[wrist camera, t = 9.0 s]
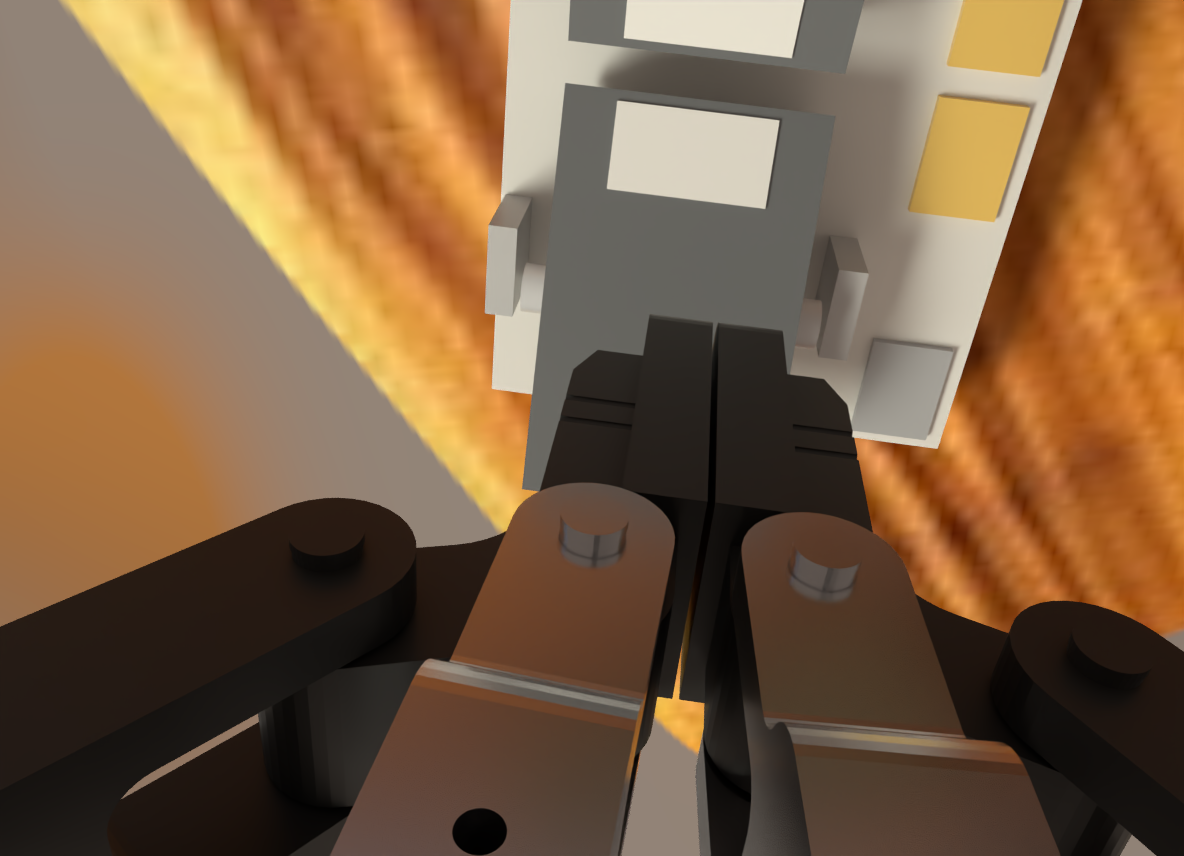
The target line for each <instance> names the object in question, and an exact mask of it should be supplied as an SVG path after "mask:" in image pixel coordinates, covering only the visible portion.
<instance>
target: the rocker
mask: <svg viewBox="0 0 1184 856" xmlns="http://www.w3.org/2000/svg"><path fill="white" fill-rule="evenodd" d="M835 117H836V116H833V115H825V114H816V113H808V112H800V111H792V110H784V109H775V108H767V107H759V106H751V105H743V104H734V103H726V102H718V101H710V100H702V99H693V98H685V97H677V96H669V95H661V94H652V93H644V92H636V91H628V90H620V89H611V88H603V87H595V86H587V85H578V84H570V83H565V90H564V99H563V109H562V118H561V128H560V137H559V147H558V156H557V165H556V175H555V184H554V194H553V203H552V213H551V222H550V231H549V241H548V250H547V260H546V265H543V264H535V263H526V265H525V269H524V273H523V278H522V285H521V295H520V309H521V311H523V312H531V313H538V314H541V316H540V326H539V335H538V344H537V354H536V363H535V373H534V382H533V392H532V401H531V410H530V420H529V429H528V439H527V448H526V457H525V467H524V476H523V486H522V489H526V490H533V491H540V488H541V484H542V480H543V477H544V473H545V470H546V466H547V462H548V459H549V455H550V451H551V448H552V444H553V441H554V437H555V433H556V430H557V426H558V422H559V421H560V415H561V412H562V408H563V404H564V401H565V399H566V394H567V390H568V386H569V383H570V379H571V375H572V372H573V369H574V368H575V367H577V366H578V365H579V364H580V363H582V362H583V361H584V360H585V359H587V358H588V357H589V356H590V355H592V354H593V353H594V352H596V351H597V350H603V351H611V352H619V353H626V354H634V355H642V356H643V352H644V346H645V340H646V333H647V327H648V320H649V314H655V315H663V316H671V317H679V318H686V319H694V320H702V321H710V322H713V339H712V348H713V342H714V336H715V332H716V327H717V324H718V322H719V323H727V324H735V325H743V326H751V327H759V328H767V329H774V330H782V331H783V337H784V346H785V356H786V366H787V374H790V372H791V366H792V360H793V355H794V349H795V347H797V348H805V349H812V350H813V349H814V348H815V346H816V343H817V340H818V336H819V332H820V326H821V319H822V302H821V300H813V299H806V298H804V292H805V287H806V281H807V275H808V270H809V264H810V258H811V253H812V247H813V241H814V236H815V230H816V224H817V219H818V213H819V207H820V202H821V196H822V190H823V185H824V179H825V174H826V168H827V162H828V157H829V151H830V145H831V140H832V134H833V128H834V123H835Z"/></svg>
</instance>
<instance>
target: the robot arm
mask: <svg viewBox="0 0 1184 856" xmlns="http://www.w3.org/2000/svg"><path fill="white" fill-rule="evenodd" d="M712 339H713V322H710V321H702V320H694V319H686V318H679V317H671V316H663V315H655V314H649V320H648V327H647V333H646V340H645V346H644V352H643V356H642V355H634V354H626V353H619V352H611V351H603V350H597V351H596V352H594V353H593V354H592V355H590V356H589V357H588V358H587V359H585V360H584V361H583V362H582V363H580V364H579V365H578V366H577V367H575V368H574V369H573V372H572V375H571V379H570V383H569V386H568V390H567V394H566V399H565V401H564V404H563V408H562V412H561V415H560V421H559V422H558V426H557V430H556V433H555V437H554V441H553V444H552V448H551V451H550V455H549V459H548V462H547V466H546V470H545V473H544V477H543V480H542V484H541V488H540V491H539V492H538V493H536V494H533V495H532V496H531V497H529V498H528V499H526V500H525V501H524V502H523V503H522V504H521V505H520V506H519V507H518V509H517V510H516V512H515V514H514V515H513V517H512V520H511V522H510V524H509V527H508V529H507V531H506V532H504V533H501V534H499V535H497V536H494V537H491V538H488V539H485V540H482V541H477V542H473V543H467V544H459V545H448V546H435V547H423V548H416V540H415V537H414V534H413V532H412V530H411V529H410V527H409V526H408V524H407V523H406V522H405V521H404V520H403V519H402V518H401V517H400V516H398V515H397V514H395V513H394V512H392V511H391V510H389V509H386V508H384V507H382V506H380V505H377V504H373V503H370V502H367V501H361V500H356V499H346V498H323V499H316V500H308V501H304V502H300V503H296V504H293V505H290V506H287V507H284V508H282V509H279V510H277V511H274V512H272V513H270V514H267V515H265V516H262V517H260V518H258V519H255V520H253V521H250V522H248V523H246V524H243V525H241V526H239V527H236V528H234V529H231V530H229V531H227V532H224V533H222V534H220V535H217V536H215V537H212V538H210V539H208V540H205V541H203V542H201V543H198V544H196V545H193V546H191V547H189V548H186V549H184V550H181V551H179V552H177V553H175V554H172V555H170V556H167V557H165V558H163V559H160V560H158V561H155V562H153V563H151V564H148V565H146V566H143V567H141V568H139V569H136V570H134V571H132V572H129V573H127V574H124V575H122V576H120V577H117V578H115V579H113V580H110V581H108V582H105V583H103V584H101V585H98V586H96V587H94V588H91V589H89V590H86V591H84V592H82V593H79V594H77V595H75V596H72V597H70V598H67V599H65V600H63V601H60V602H58V603H56V604H53V605H51V606H49V607H46V608H44V609H41V610H39V611H36V612H34V613H32V614H29V615H27V616H25V617H22V618H20V619H17V620H15V621H13V622H10V623H8V624H6V625H3V626H1V627H0V856H622V850H623V845H624V839H625V835H626V829H627V824H628V818H629V814H630V808H631V803H632V798H633V793H634V787H635V782H636V776H637V772H638V766H639V760H640V754H641V750H642V748H643V747H644V746H645V744H646V743H647V741H648V739H649V737H650V734H651V729H652V725H653V719H654V713H655V707H656V701H657V697H664V698H671V699H672V697H673V691H674V686H675V680H676V675H677V669H678V663H679V658H680V652H681V647H682V658H681V676H680V694H679V699H680V700H687V701H694V702H701V703H705V705H704V730H703V735H702V739H701V744H700V749H699V754H698V759H697V764H696V775H695V778H696V795H697V813H698V829H699V847H700V856H1120V854H1121V853H1122V851H1123V849H1124V847H1125V846H1126V844H1127V842H1128V840H1129V839H1130V837H1131V835H1133V836H1134V837H1135V838H1137V839H1138V840H1139V841H1140V842H1141V843H1142V844H1144V845H1145V846H1146V847H1147V848H1148V849H1149V850H1151V851H1152V852H1153V853H1154V854H1155V855H1156V856H1184V652H1183V651H1182V650H1180V649H1179V648H1178V647H1176V646H1175V645H1173V644H1172V643H1170V642H1169V641H1167V640H1166V639H1165V638H1163V637H1162V636H1160V635H1159V634H1157V633H1156V632H1154V631H1153V630H1151V629H1149V628H1148V627H1146V626H1145V625H1143V624H1141V623H1139V622H1137V621H1135V620H1133V619H1131V618H1129V617H1127V616H1125V615H1122V614H1120V613H1117V612H1115V611H1112V610H1109V609H1106V608H1103V607H1099V606H1096V605H1091V604H1086V603H1082V602H1073V601H1050V602H1043V603H1039V604H1036V605H1033V606H1030V607H1028V608H1027V609H1025V610H1024V611H1022V612H1021V613H1020V614H1019V615H1018V616H1017V617H1016V618H1015V620H1014V622H1013V624H1012V626H1011V629H1010V631H1009V634H1008V633H1006V632H1003V631H1000V630H997V629H995V628H992V627H989V626H986V625H983V624H981V623H978V622H975V621H972V620H969V619H967V618H964V617H961V616H958V615H956V614H953V613H951V612H948V611H946V610H943V609H941V608H939V607H937V606H935V605H933V604H931V603H929V602H927V601H926V600H924V599H922V598H921V597H919V596H918V595H916V594H915V592H914V589H913V586H912V583H911V580H910V577H909V575H908V572H907V569H906V567H905V565H904V563H903V561H902V559H901V558H900V557H899V555H898V554H897V552H896V551H895V550H894V549H893V548H892V547H891V546H890V545H889V544H888V543H887V542H885V541H884V540H883V539H881V538H880V537H879V536H877V535H876V534H874V533H873V531H872V526H871V521H870V516H869V511H868V506H867V501H866V495H865V490H864V485H863V480H862V475H861V470H860V465H859V460H857V450H856V445H855V440H854V437H852V434H853V430H852V425H851V420H850V415H849V410H848V405H847V404H846V403H845V401H844V400H843V399H842V398H841V397H840V396H839V395H838V394H837V393H836V392H835V390H834V389H833V388H832V387H831V386H830V385H829V384H828V383H827V382H826V381H825V379H821V378H813V377H806V376H798V375H790V374H787V366H786V356H785V346H784V337H783V331H782V330H774V329H767V328H759V327H751V326H743V325H735V324H727V323H719V322H718V324H717V327H716V332H715V336H714V342H713V348H712ZM256 714H258V717H259V722H258V723H256V724H255V725H253V726H251V727H249V728H248V729H246V730H244V731H242V732H240V733H239V734H237V735H235V736H233V737H232V738H230V739H228V740H226V741H224V742H223V743H221V744H219V745H217V746H216V747H214V748H212V749H210V750H208V751H207V752H205V753H203V754H201V755H200V756H198V757H196V758H195V759H192V760H191V761H189V762H187V763H185V764H183V765H182V766H180V767H178V768H176V769H175V770H173V771H171V772H169V773H167V774H166V775H164V776H162V777H160V778H158V779H157V780H155V781H153V782H151V783H150V784H148V785H146V786H144V787H143V788H141V789H139V790H137V791H135V792H134V793H132V794H130V795H128V796H126V797H125V798H123V799H121V798H122V797H123V796H124V795H125V794H126V792H127V791H128V790H129V789H131V788H132V787H133V786H134V785H135V784H136V783H137V782H138V781H140V780H141V779H142V778H144V777H145V776H147V775H148V774H150V773H151V772H153V771H155V770H157V769H159V768H160V767H162V766H164V765H166V764H167V763H169V762H171V761H173V760H175V759H177V758H178V757H180V756H182V755H184V754H186V753H187V752H189V751H191V750H193V749H195V748H196V747H198V746H200V745H202V744H204V743H205V742H207V741H209V740H211V739H213V738H214V737H216V736H218V735H220V734H222V733H223V732H225V731H227V730H229V729H231V728H232V727H234V726H236V725H238V724H240V723H241V722H243V721H245V720H247V719H249V718H250V717H252V716H254V715H256ZM120 799H121V800H120Z"/></svg>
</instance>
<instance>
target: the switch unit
mask: <svg viewBox="0 0 1184 856" xmlns="http://www.w3.org/2000/svg"><path fill="white" fill-rule="evenodd" d="M1081 3H1082V0H864V4H863V7H862V11H861V15H860V19H859V23H858V27H857V31H856V34H855V38H854V42H853V46H852V50H851V54H850V58H849V61H848V65H847V69H846V73H845V74H841V73H833V72H825V71H816V70H808V69H800V68H791V67H783V66H775V65H766V64H758V63H750V62H741V61H733V60H725V59H716V58H708V57H700V56H692V55H683V54H675V53H667V52H658V51H650V50H642V49H633V48H625V47H617V46H608V45H600V44H592V43H583V42H575V41H568V35H569V14H570V0H511V7H510V27H509V48H508V68H507V89H506V109H505V130H504V150H503V171H502V191H501V204H500V205H499V207H498V209H497V211H496V213H495V215H494V216H493V218H492V220H491V222H490V224H489V229H488V253H487V276H486V299H485V313H487V314H494V315H495V335H494V355H493V376H492V389H497V390H505V391H512V392H520V393H527V394H532V392H533V382H534V373H535V363H536V354H537V344H538V335H539V326H540V316H541V314H538V313H531V312H523V311H521V309H520V295H521V285H522V278H523V273H524V269H525V265H526V263H535V264H543V265H546V260H547V250H548V241H549V231H550V222H551V213H552V203H553V194H554V184H555V175H556V165H557V156H558V147H559V137H560V128H561V118H562V109H563V99H564V90H565V83H570V84H578V85H587V86H595V87H603V88H611V89H620V90H628V91H636V92H644V93H652V94H661V95H669V96H677V97H685V98H693V99H702V100H710V101H718V102H726V103H734V104H743V105H751V106H759V107H767V108H775V109H784V110H792V111H800V112H808V113H816V114H825V115H833V116H836V117H835V123H834V128H833V134H832V140H831V145H830V151H829V157H828V162H827V168H826V174H825V179H824V185H823V190H822V196H821V202H820V207H819V213H818V219H817V224H816V230H815V236H814V241H813V247H812V253H811V258H810V264H809V270H808V275H807V281H806V287H805V292H804V298H806V299H813V300H821V302H822V319H821V326H820V332H819V336H818V340H817V343H816V346H815V348H814V349H813V350H812V349H805V348H797V347H795V349H794V355H793V360H792V366H791V372H790V375H798V376H806V377H813V378H821V379H825V381H826V382H827V383H828V384H829V385H830V386H831V387H832V388H833V389H834V390H835V392H836V393H837V394H838V395H839V396H840V397H841V398H842V399H843V400H844V401H845V403H846V404H847V405H848V410H849V415H850V420H851V425H852V430H853V434H852V437H854V438H862V439H869V440H877V441H884V442H891V443H899V444H906V445H914V446H921V447H929V448H936V449H938V446H939V443H940V440H941V436H942V433H943V430H944V427H945V424H946V421H947V418H948V415H949V412H950V409H951V405H952V402H953V399H954V396H955V393H956V390H957V387H958V384H959V381H960V378H961V375H962V371H963V368H964V365H965V362H966V359H967V356H968V353H969V350H970V347H971V344H972V341H973V337H974V334H975V331H976V328H977V325H978V322H979V319H980V316H981V313H982V310H983V307H984V303H985V300H986V297H987V294H988V291H989V288H990V285H991V282H992V279H993V276H994V273H995V269H996V266H997V263H998V260H999V257H1000V254H1001V251H1002V248H1003V245H1004V242H1005V238H1006V235H1007V232H1008V229H1009V226H1010V223H1011V220H1012V217H1013V214H1014V211H1015V208H1016V204H1017V201H1018V198H1019V195H1020V192H1021V189H1022V186H1023V183H1024V180H1025V177H1026V174H1027V170H1028V167H1029V164H1030V161H1031V158H1032V155H1033V152H1034V149H1035V146H1036V143H1037V140H1038V136H1039V133H1040V130H1041V127H1042V124H1043V121H1044V118H1045V115H1046V112H1047V109H1048V105H1049V102H1050V99H1051V96H1052V93H1053V90H1054V87H1055V84H1056V81H1057V78H1058V75H1059V71H1060V68H1061V65H1062V62H1063V59H1064V56H1065V53H1066V50H1067V47H1068V44H1069V41H1070V37H1071V34H1072V31H1073V28H1074V25H1075V22H1076V19H1077V16H1078V13H1079V10H1080V7H1081Z"/></svg>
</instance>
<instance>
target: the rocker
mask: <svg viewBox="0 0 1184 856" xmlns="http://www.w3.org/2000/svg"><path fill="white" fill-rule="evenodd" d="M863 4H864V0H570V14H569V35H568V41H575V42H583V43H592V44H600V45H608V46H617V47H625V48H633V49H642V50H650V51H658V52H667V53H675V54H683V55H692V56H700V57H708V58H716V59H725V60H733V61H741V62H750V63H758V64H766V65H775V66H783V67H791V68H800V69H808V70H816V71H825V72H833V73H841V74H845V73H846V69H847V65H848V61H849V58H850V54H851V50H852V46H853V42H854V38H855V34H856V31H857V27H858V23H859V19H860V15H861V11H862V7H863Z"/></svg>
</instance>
